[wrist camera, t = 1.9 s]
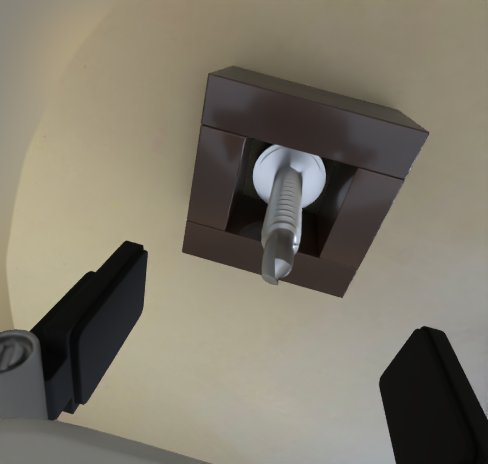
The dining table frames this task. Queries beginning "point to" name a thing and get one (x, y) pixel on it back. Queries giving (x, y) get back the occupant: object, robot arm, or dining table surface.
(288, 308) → the dining table surface
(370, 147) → the holder
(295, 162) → the screw
